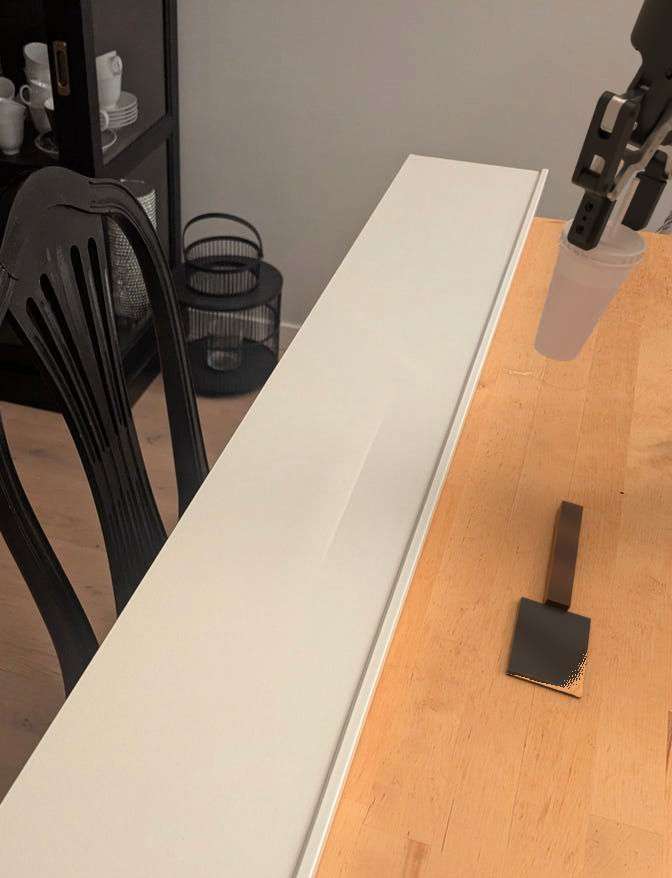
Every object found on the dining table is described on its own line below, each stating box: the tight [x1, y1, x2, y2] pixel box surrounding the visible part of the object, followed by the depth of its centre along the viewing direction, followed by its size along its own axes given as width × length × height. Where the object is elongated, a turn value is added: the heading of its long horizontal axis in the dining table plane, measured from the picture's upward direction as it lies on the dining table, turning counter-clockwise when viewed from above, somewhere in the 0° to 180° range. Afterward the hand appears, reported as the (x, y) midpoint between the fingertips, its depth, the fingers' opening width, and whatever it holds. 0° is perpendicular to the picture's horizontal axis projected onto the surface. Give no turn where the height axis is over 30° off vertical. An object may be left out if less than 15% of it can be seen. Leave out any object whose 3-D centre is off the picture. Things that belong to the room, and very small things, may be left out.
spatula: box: [505, 499, 592, 689], centre depth 80 cm, size 24×6×1 cm, turn 159°
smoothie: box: [533, 176, 648, 362], centre depth 71 cm, size 6×6×14 cm
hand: (606, 235), depth 69 cm, fingers closed on smoothie, 6 cm apart
